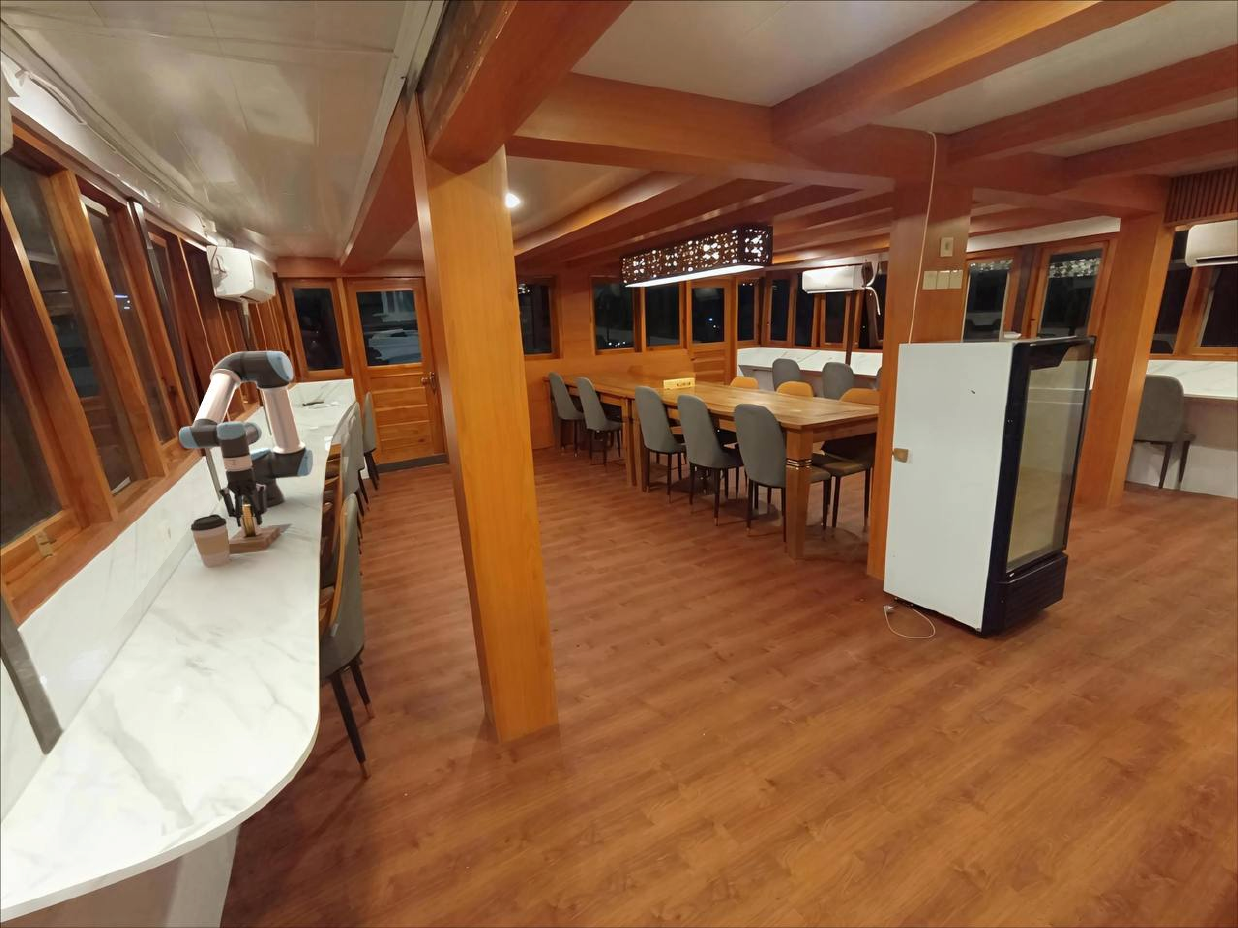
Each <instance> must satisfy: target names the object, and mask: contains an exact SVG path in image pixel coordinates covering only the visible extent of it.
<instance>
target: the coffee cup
mask: <svg viewBox="0 0 1238 928" xmlns="http://www.w3.org/2000/svg"><path fill="white" fill-rule="evenodd" d="M190 531H192V533H193V539H194V542H195V545H196V548H197V551H198V553H199V555H200V558H201V560H202V564H203V565H204V567H207V568H208V567H209V568H212V567H218V566H221V565H225V564H227V563H229V562H230V561H231V553H230V552H229V540H230V539H229V532H228V531H229V530H228V528H227V520H226V519H225V518H223V517H222V516H220V515H219V514H216V513H215V514H214V513H213V514H210V515H207V516H204V517H200V518H197V519H195V520H193V523H192V524H190Z"/></svg>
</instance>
